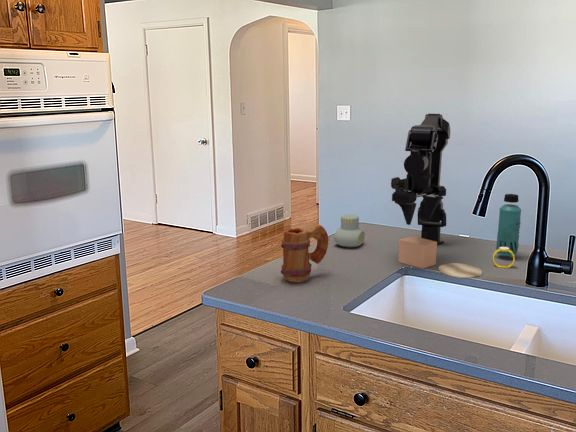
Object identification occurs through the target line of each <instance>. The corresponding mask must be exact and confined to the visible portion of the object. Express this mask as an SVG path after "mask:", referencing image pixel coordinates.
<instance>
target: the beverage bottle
mask: <svg viewBox="0 0 576 432" xmlns="http://www.w3.org/2000/svg"><path fill="white" fill-rule="evenodd" d="M503 201H504V202H506V203H507V204H503V205H501V206H500V207H499V216H498V227H497V228H498V229H497V234H496V244H495V246H496V247H495V251H496V250H498V249H499V247H508V248H509V250H511V251H512V252H513V254H514V256H517V255H518V252H519V246H520V243H519V241H520V228H521V223H522V222H521V214H522V213H521V212H522V208H520V207H519V205H517V204H514V203H519V195H518V194H513V193H506V194H504V199H503ZM508 203H512V204H508ZM497 254H498V255H500V256H505V257H513V256H512V254H511V253H510V252H508V251H499V252H497V253H496V255H497Z"/></svg>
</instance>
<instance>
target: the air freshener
mask: <svg viewBox="0 0 576 432" xmlns="http://www.w3.org/2000/svg"><path fill="white" fill-rule="evenodd" d="M359 222H360V217H359V216H358V215H357V214H356V215H355V214H343V215H341V216H340V227H339V228H337V229H336V230H335V232H334V237H333V239H334V240H333V241H334V242H335V243H336V244H337V245H339V246H340V247H344V248H357V247H360V246H361V245H362V244H363V243H364V240H365V237H366V234H365V231H364V230H363V229H361V228H359V227H360V226H359V225H360V224H359Z"/></svg>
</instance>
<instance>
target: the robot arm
mask: <svg viewBox="0 0 576 432" xmlns="http://www.w3.org/2000/svg"><path fill="white" fill-rule="evenodd" d="M450 139H451V126H450V122H449V121H447V120H446V119H444V117H443V114H440V113H428V114H427V113H426V114H425V117H424V119H423V121H421V123H420V124H415V125H413V126H411V127H410V129H409V130H408V133H407V137H406V143H405V148H404V151H405V152H410V154H409V155H407V157H406V158H405V159H404V161H403V167H404V170H405V172H406V173H407V174H406V176H405V177H406V178H402V179H401V178H400V177H399V176H395V177H393V178H391V181H390V187H391V188H392V189H393V190H394V191H393V193H392V194H391V201H392V202H394V203H395V204H396V205H398V206H399V207H400V209H401V210H402V214H403V218H404V221H405V223H406V225H408V226H411V223H412V222H413V218H414V217H413V216H414V214H415V211H416V207H417V202H416V201H417V198H421V197H422V200H421V201H420V203H419V206H418V208H417V225H418V226H421V231H420V232H421V235H420V238H423V239H428V240H432V241H436V242H437V245H440V244H443V243H445V242H444V240H442V239H441V228H444V227H446V226H447V213H446V211H445V209H444V202H443V199H444V197H445V196H447V188H446V187H445V186H444V185H440V184H441V172H442V156H443V151H444V150H445V148H446V147H447V146H448V144H449V143H448V142H449V140H450Z"/></svg>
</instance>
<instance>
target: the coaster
mask: <svg viewBox="0 0 576 432" xmlns="http://www.w3.org/2000/svg"><path fill="white" fill-rule="evenodd" d="M438 272H439V273H440V274H442V275H445V276H448V277H452V278H457V279H458V278H459V279H473V278H478V277H480V276H482V275H483V270H482V269H481V267H480V268H479V266H475V265H471V264H467V263H459V262H458V263H457V262H454V263H453V262H451V263H450V262H449V263H444V264H442V265H439V267H438Z"/></svg>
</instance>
